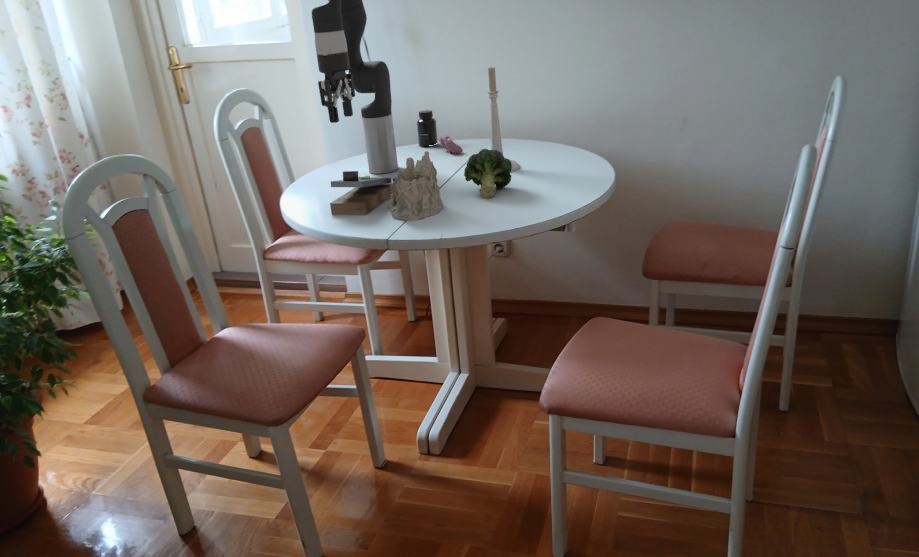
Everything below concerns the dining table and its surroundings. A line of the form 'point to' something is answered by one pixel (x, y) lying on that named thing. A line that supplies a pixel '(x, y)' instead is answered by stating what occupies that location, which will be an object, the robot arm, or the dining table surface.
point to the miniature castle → (416, 191)
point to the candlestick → (496, 117)
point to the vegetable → (488, 171)
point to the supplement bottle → (426, 129)
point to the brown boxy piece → (361, 200)
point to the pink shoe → (449, 144)
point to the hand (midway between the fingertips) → (341, 119)
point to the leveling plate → (359, 180)
